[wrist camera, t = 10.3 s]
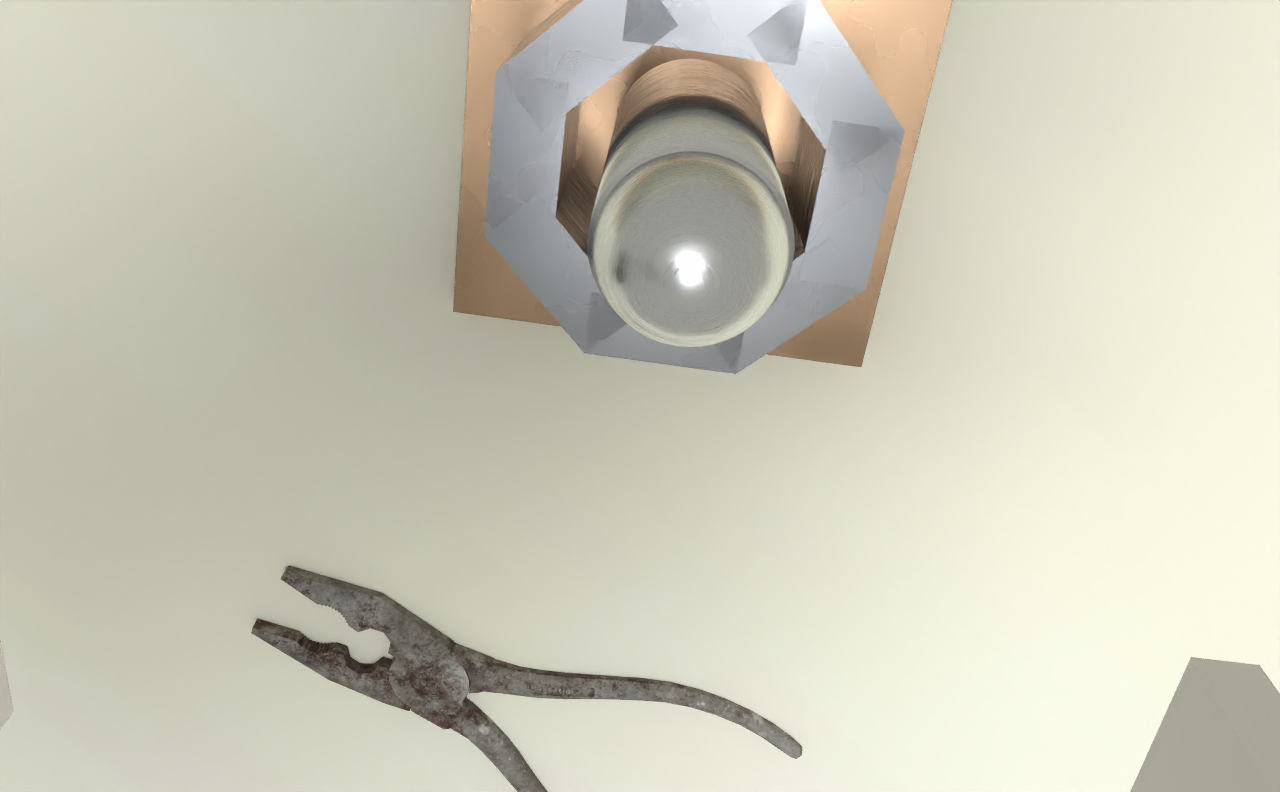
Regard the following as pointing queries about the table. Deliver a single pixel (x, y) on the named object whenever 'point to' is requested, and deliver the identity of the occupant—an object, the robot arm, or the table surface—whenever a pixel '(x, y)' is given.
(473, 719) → the pliers
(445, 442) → the table surface
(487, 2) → the piston post
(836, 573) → the table surface
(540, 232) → the ring
